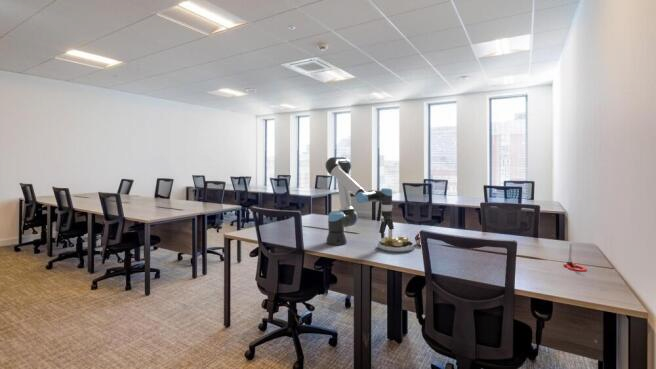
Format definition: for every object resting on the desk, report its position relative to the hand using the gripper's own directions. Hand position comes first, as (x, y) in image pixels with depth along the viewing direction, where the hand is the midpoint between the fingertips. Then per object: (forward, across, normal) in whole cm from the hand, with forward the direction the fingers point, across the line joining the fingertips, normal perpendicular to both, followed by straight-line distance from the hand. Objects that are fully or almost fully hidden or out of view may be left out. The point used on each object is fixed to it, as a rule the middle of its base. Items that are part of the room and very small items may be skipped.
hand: (386, 240), depth 228 cm
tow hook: (+4, +5, -107) cm, 107 cm away
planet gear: (+3, 0, 0) cm, 3 cm away
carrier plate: (+5, 0, -7) cm, 8 cm away
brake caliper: (+5, +17, -21) cm, 27 cm away
